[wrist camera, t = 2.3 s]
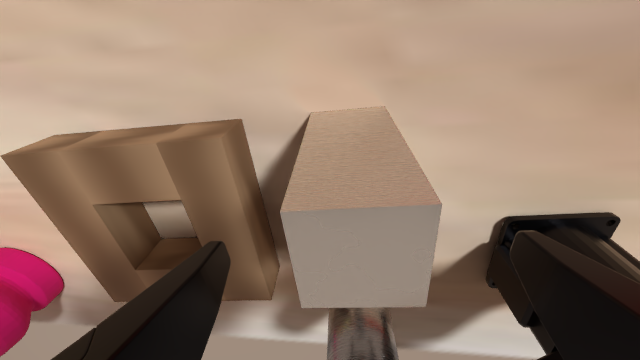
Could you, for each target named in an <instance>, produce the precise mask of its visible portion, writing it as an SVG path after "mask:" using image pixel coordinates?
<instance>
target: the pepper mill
mask: <svg viewBox="0 0 640 360" xmlns="http://www.w3.org/2000/svg"><path fill="white" fill-rule="evenodd" d="M63 286H64V285H63V280H62V278H61V277H60V275H59V274H58V273H57V272H56V270H55V269H54V268H53V267H52V266H50V265H49V264H48V263H46V262H45V261H43V260H42V259H40V258H38V257H36V256H34V255H32V254H30V253H27V252H24V251H21V250H17V249H13V248H0V356H2V355H3V354H5V352H7V351H8V350H9V349H10V348H12V347H13V346H14V345H15V344H16V343H17V342H18V341H20V339H22V337H23V336H24V335H25V333H26V332H27V330H28V327H29V324H30V318H31V312H32V311H38V310H41V309H43V308H45V307H46V306H47V305H48V304H49V303H50V302H51V301H52V300H53V299H54V298H55V297H56V296H57V295H58V294H60V292H61V291H62V289H63Z"/></svg>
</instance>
